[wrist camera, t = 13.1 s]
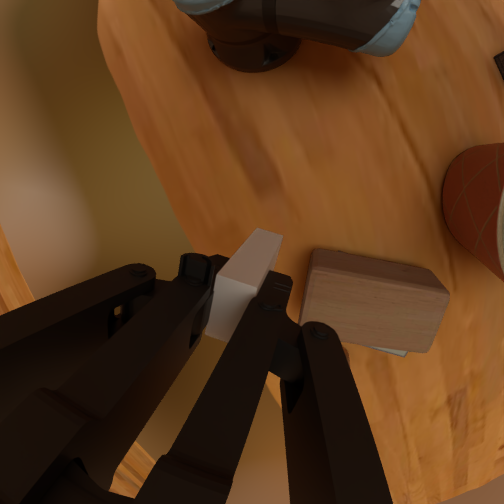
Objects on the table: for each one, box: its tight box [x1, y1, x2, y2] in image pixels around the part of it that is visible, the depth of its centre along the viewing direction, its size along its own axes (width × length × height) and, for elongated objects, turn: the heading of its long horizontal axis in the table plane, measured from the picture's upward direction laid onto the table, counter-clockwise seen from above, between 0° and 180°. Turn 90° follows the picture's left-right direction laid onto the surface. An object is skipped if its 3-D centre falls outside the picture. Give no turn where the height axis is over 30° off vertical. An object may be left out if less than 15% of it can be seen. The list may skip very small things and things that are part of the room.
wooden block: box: [298, 249, 450, 353], centre depth 42 cm, size 10×10×20 cm
